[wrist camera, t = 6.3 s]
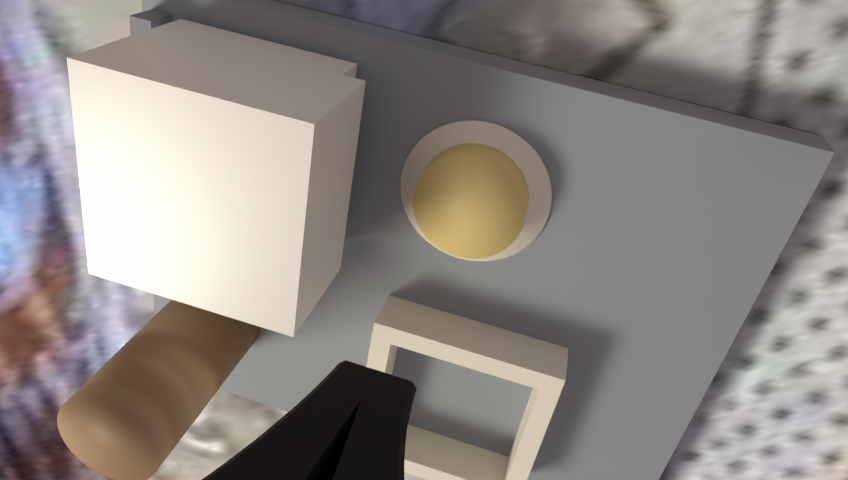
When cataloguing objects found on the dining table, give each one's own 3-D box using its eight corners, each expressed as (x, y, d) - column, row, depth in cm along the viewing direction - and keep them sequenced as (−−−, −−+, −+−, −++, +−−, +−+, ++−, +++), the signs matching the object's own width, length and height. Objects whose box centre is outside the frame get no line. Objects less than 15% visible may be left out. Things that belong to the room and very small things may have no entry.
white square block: (379, 68, 17) (314, 124, 14) (353, 250, 20) (293, 337, 16) (181, 18, 18) (66, 57, 14) (182, 200, 21) (88, 273, 17)
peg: (262, 292, 22) (156, 418, 17) (258, 360, 24) (160, 495, 18) (179, 266, 22) (51, 383, 17) (180, 335, 24) (63, 461, 19)
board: (821, 135, 17) (854, 177, 14) (633, 496, 24) (635, 562, 22) (166, -26, 19) (105, -12, 17) (174, 349, 26) (131, 395, 24)
